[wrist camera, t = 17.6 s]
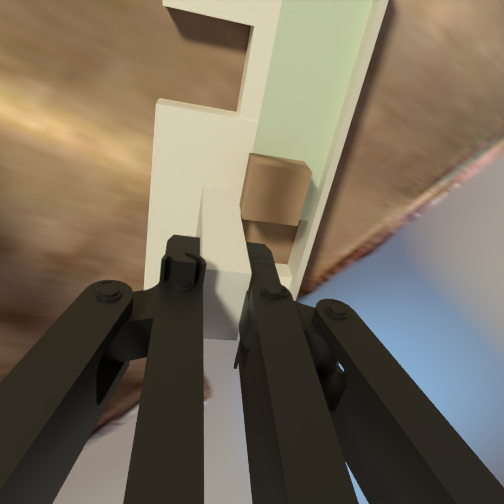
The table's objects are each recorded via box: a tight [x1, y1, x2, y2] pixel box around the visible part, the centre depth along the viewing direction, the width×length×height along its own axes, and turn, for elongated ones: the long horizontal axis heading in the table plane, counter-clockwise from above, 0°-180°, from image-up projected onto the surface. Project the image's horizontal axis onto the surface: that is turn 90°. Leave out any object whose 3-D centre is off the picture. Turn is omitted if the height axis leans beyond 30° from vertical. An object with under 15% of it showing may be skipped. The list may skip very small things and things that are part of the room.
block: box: [239, 153, 313, 226], centre depth 41 cm, size 6×6×4 cm
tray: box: [144, 0, 389, 301], centre depth 41 cm, size 19×41×4 cm, turn 169°
